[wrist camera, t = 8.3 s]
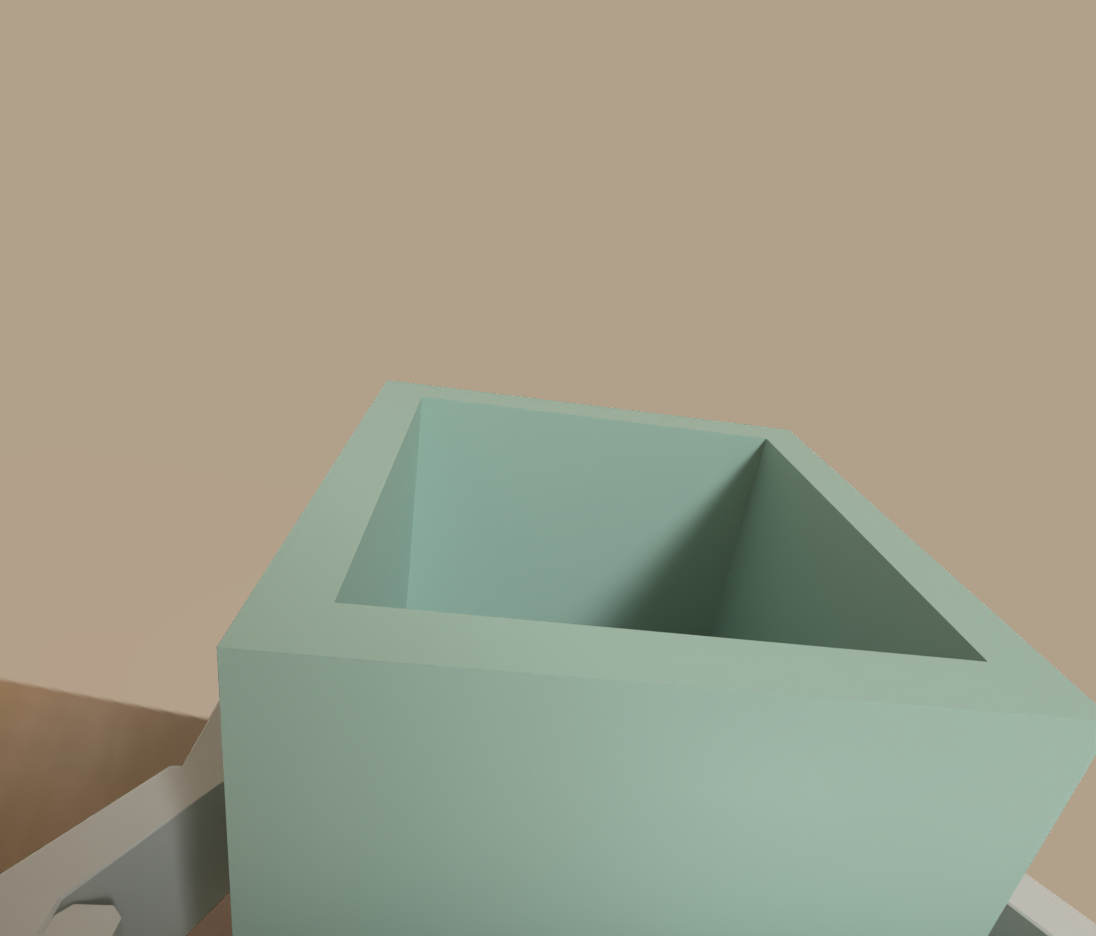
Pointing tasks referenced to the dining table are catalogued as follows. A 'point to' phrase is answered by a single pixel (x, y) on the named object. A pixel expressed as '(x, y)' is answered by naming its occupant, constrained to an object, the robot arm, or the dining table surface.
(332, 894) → the mint green pencil cup
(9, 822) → the dining table surface
